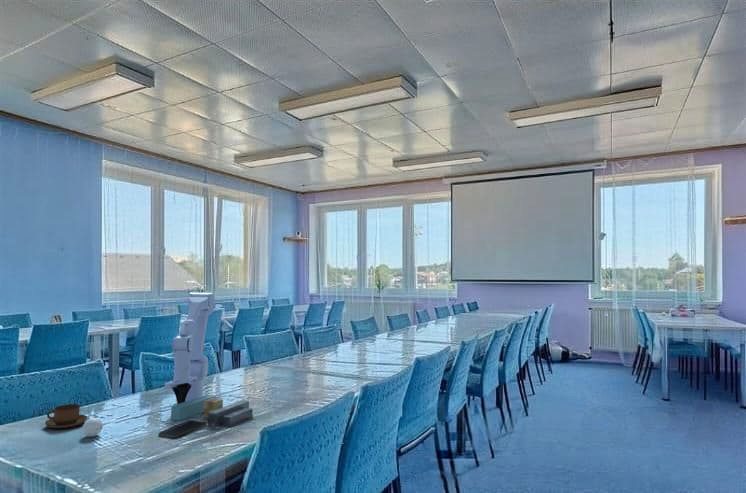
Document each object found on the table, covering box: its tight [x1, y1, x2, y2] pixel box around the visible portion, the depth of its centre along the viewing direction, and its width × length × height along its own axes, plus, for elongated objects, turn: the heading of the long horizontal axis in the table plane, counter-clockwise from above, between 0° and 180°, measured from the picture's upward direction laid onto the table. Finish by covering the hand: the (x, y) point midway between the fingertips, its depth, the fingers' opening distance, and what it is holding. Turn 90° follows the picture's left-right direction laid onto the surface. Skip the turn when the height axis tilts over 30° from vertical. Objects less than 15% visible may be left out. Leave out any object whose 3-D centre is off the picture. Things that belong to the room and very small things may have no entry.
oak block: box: [203, 397, 224, 419], centre depth 175 cm, size 4×4×6 cm
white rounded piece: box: [81, 417, 105, 438], centre depth 153 cm, size 8×6×6 cm
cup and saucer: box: [44, 403, 88, 429], centre depth 163 cm, size 12×12×6 cm
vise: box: [207, 399, 254, 428], centre depth 171 cm, size 7×18×4 cm, turn 156°
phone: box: [158, 420, 208, 440], centre depth 159 cm, size 8×1×15 cm
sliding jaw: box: [170, 394, 217, 422], centre depth 179 cm, size 4×18×4 cm, turn 156°
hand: (180, 404), depth 181 cm, fingers closed
